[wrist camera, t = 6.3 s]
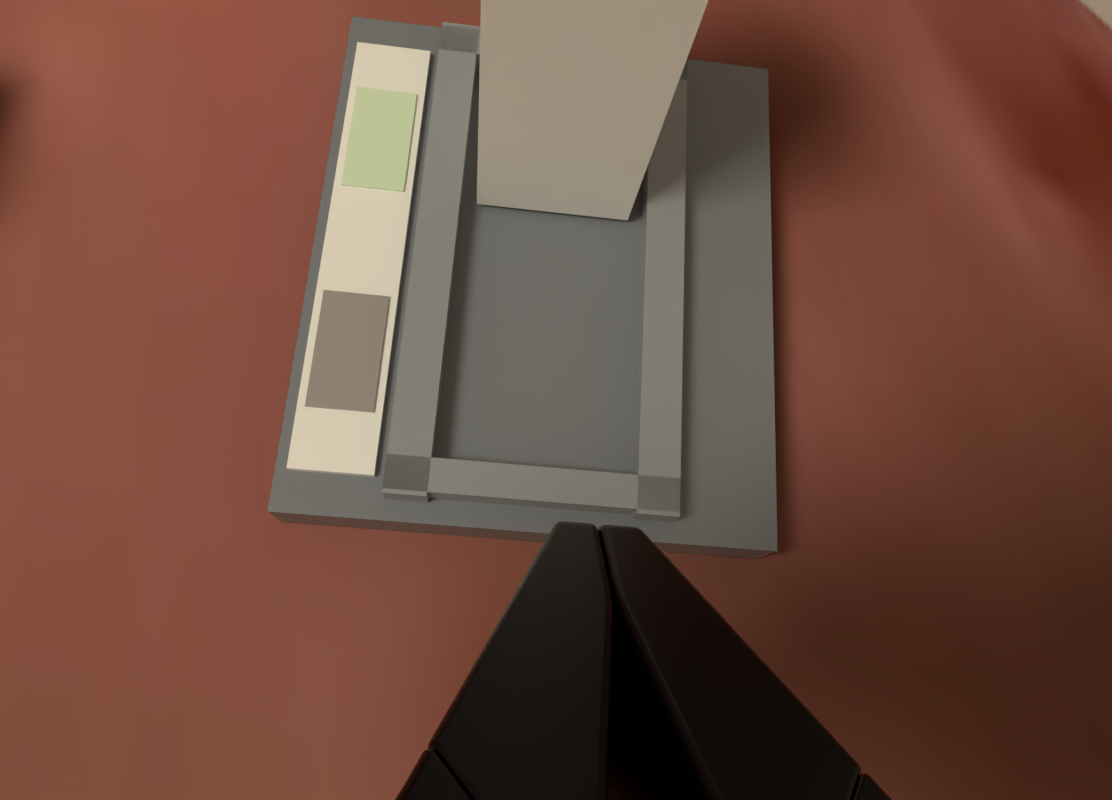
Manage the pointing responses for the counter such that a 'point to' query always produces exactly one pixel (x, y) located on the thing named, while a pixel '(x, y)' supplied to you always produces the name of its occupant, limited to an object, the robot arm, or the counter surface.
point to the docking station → (533, 323)
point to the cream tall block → (576, 99)
